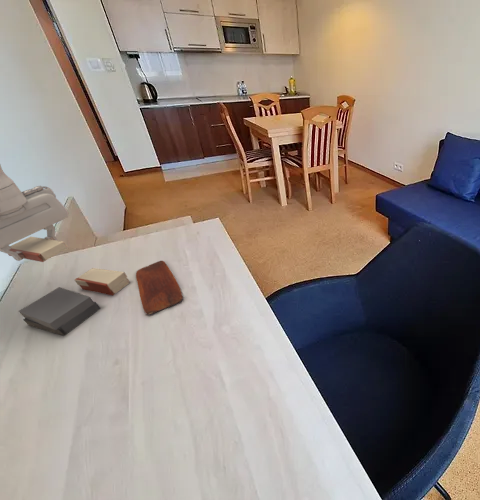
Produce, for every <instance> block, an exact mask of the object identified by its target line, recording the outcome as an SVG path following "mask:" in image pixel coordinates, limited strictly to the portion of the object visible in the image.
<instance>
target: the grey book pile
mask: <svg viewBox="0 0 480 500" xmlns="http://www.w3.org/2000/svg"><path fill="white" fill-rule="evenodd" d="M99 310H101V307H100V305H99V304H98V303H97V301H94V299H92V297H91V296H89V295H87V294H86V295H85V294H82V293H79V292H77V291H73V290H70V289H67V288H64V287H60V286H58V287H57V288H55V289H53V290H51V291H50V292H48V293H46V294H45V295H43V296H42V297H40V298H38V299H36V300H35V301H33V302H30V304H28V305H26V306H24V307H23V308H21V309H19V310H18V311H17V312H18V313H19V314H20V315H21V316H22V317H23V319H22V320H23V322H25V324H27V326H29V327H31V328H35V329H39V330H41V331H44V332H49V333H51V334H52V333H53V334H57V335H60V336H63V337H65V336H66V335H67V334H69V333H70V332H72V331H73V330H75V328H77V327H78V326H80V325H81V324H82V323H83V322H85V321H86V320H88V318H90V317H91V316H93V315H94V314H95V313H96V312H98V311H99Z"/></svg>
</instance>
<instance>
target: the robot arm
mask: <svg viewBox="0 0 480 500" xmlns="http://www.w3.org/2000/svg"><path fill="white" fill-rule="evenodd" d="M67 218H69V211H68V210H67V208H66V207H65V206H64V205H63V204H62V202H61V201H60V200H59V199H58V198H57V195H56V193H54V191H53V189H52V188H50V187H48V186H43V185H38V186H37V185H36V186H33V188H29V189H26V190H23V191H21V189H20V188H19V187H18V186H17V184H16V183H15V182H14V180H13V179H12V178H11V177H9V176H8V175H7V174H6V173H5V172H4V170H3V168H2V164H0V253H3V254H7V255H8V254H10V255H11V256H10V257H12V258H13V259H14V260H15V261H17V262H20V261H22V260H23V259H24V258H26V257H25V255H24V254H23V253H22V252H19V251H16V252H12V251H10V249H11V247H10V246H11V245H13V244H15V243H17V242H19V241H21V240H24V239H26V238H28V237H30V236H31V235H33V234H35V233H37V232H40V231H42V230H44V231H46V236H45V237H43V238H44V239H50V240H56V241H59V240H58V238H57V237H56V227H55V226H54V225H55V224H57V223H59V222H62V221H64V220H66V219H67Z"/></svg>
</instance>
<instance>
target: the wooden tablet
mask: <svg viewBox="0 0 480 500" xmlns="http://www.w3.org/2000/svg"><path fill="white" fill-rule="evenodd" d="M135 280H136V283H137V287H138V293H139V298H140V302H141V306H142V309H143V311H144V313H145V314H146V315H148V316H149V315H153V314H155V313H158V312H160V311H162V310H164V309H167V308H170V307H172V306H174V305H175V306H176V304H179V303H180V302H181V301H183V299H184V298H183V293H182V289H181V287H180V285H179V283H178V281H177V279H176V277H175V275H174V274H173V272H172V271H171V269H170V267H169V265H167V263H166V262H165V261H164V260H158V261H156V262H153V263H151V264H149V265H147V266H144V267H142V268H140V269H138V270H137V271H136V272H135Z"/></svg>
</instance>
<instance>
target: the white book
mask: <svg viewBox="0 0 480 500" xmlns="http://www.w3.org/2000/svg"><path fill="white" fill-rule="evenodd" d="M44 238H45V237H37V236H28V237H25V238H23V239H21V240H19V241H17V242H15V243H13V244H11V245H9V246H10V247H11V249H10V251H12V252H16V251H19V252H22V253H23V254H24V255H25V257H26V258H24V259H25V260H30V261H35V262H40V263H44V262H46V261H48V260H50V259H52V258H53V257H56V256H57V255H59V254H61V253H62V252H65V250H68V249H69V246H68V245H67V244H66V242H65V241H63V240H58V241H56V240H50V239H44ZM7 255H8V257H12V256H11V255H10V254H7Z"/></svg>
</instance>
